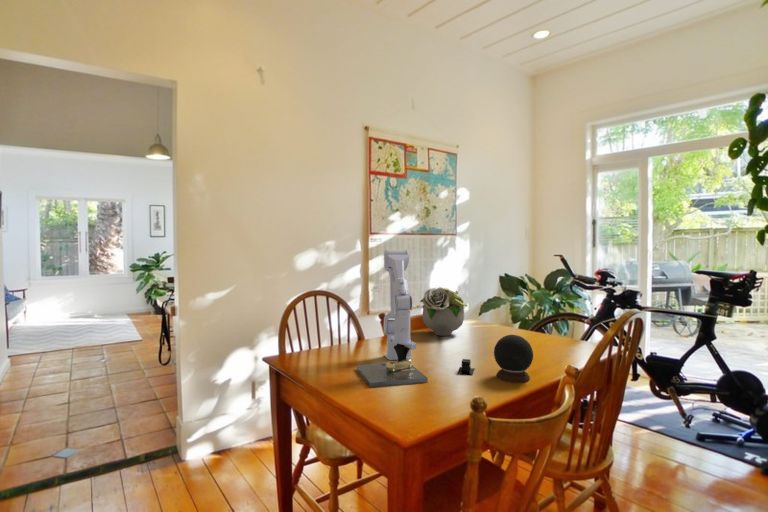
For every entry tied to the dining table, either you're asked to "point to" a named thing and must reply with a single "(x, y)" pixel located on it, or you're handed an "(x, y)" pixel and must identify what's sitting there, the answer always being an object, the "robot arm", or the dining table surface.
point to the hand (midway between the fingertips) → (402, 364)
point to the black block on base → (466, 368)
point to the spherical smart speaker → (513, 358)
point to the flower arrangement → (442, 310)
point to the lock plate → (389, 375)
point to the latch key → (398, 365)
